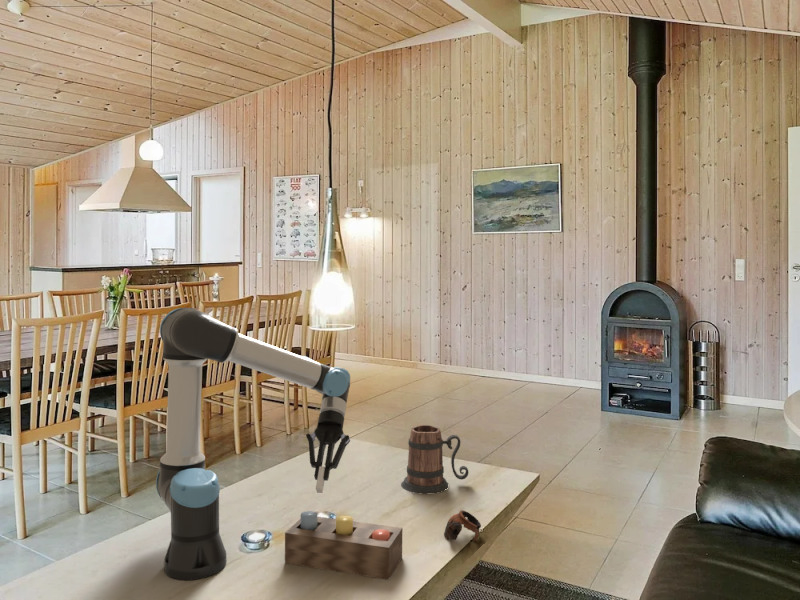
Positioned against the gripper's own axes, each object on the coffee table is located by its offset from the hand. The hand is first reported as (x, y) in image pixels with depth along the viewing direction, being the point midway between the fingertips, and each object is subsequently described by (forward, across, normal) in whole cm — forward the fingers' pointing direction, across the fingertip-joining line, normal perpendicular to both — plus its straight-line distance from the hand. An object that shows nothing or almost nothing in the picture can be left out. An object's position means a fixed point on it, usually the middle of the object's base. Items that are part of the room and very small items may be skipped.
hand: (319, 490), depth 172 cm
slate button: (+11, +1, -2) cm, 11 cm away
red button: (+15, -18, -1) cm, 24 cm away
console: (+16, -9, -5) cm, 19 cm away
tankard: (-24, -29, -46) cm, 60 cm away
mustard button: (+12, -9, 0) cm, 15 cm away
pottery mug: (+5, -38, -17) cm, 42 cm away
